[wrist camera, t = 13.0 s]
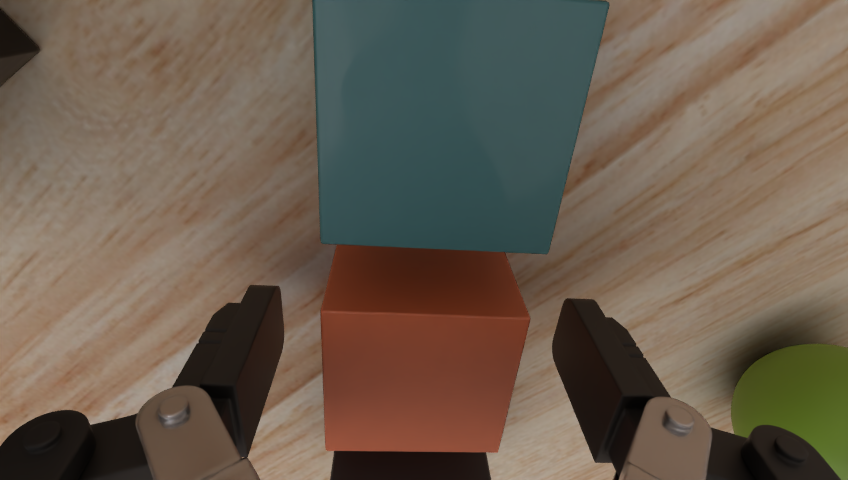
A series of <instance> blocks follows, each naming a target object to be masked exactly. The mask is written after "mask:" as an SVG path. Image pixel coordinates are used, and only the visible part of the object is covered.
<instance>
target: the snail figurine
mask: <svg viewBox="0 0 848 480" xmlns="http://www.w3.org/2000/svg"><path fill="white" fill-rule="evenodd" d="M731 419H732V426H733V430H734V434H735V435H739V436H742V437H746V438H748V436H749V435H750V433H751V432H752V430H753V429H754V428H755V427H757V426H759V425H773V426H777V427H780V428H783V429H786V430H788V431H790V432H792V433H794V434H796V435H798V436H799V437H801V438H802V439H804V440H805V441H807V442H808V443H809V444H810V445H812V446H813V447H814V448H815V449H816V450H817V451H818V452H819V453H820V455H821V456H822V457H823V458H824V459H825V461H826V462H827V463H828V464H829V465H830V467H831V468H832V469H833V470H834V472H835V473H836V474H837V475H838V476H839V478H840V479H841V480H848V348H847V347H843V346H837V345H829V344H801V345H794V346H789V347H785V348H782V349H779V350H776V351H773V352H771V353H769V354H767V355H765V356H763V357H762V358H760V359H759V360H757V361H756V362H755V363H753V364H752V365H751V366H750V367H749V368H748V369H747V370H746V371H745V373H744V374H743V375H742V377H741V378H740V380H739V381H738V383H737V385H736V388H735V391H734V394H733V398H732V404H731Z"/></svg>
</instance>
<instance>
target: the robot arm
mask: <svg viewBox="0 0 848 480" xmlns="http://www.w3.org/2000/svg"><path fill="white" fill-rule="evenodd" d="M283 343H284V323H283V312H282V300H281V291H280V287H279V286H264V285H250V286H249V287H248V289H247V291H246V293H245V295H244V297H243V299H242V301H241V303H227V304H226V305H225V306H224V307H222V308H221V309H220V310H219V311H217V312H216V313H215V314H214V315H213V316H212V318H211V320H210V322H209V323H208V325H207V327H206V329H205V332H203V334H202V336H201V337H200V339H199V343H198V344H196V346H195V348H194V350H193V352H192V353H191V355H190V357H189V359H188V360H187V362H186V364H185V366H184V367H183V369H182V371H181V373H180V374H179V376H178V378H177V380H176V381H175V383H174V385H173V387H172V388H170V389H167V390H164V391H162V392H160V393H158V394H157V395H155V396H153V397H152V398H151V399H149V400H148V401H147V402H146V403H145V404H144V405H143V406H142V408H141V409H140V411H139V412H138V413H137V414H134V415H131V416H128V417H124V418H119V419H115V420H110V421H106V422H102V423H97V424H93V425H90V424H89V421H88V419H87V418H86V416H85V415H83V414H82V413H80V412H78V411H73V410H61V411H55V412H51V413H47V414H44V415H41V416H39V417H36V418H34V419H32V420H30V421H29V422H27V423H25V424H24V425H22V426H21V427H19V428H18V429H16V430H15V431H14V432H13V433H12V434H11V435H10V436H9V437H8V438H7V439H6V440H5V441H4V442H3V444H2V445H1V446H0V480H260V479H259V477H258V475H257V473H256V471H255V469H254V467H253V465H252V464H251V462H250V461H249V459H248V458H247V457H248V454H249V451H250V448H251V445H252V442H253V439H254V436H255V433H256V430H257V427H258V424H259V421H260V417H261V414H262V411H263V408H264V405H265V402H266V399H267V396H268V393H269V390H270V387H271V384H272V381H273V378H274V375H275V371H276V368H277V365H278V362H279V359H280V356H281V353H282V349H283ZM552 353H553V359H554V362H555V365H556V367H557V370H558V372H559V375H560V377H561V380H562V382H563V384H564V387H565V389H566V392H567V394H568V397H569V399H570V402H571V404H572V407H573V409H574V412H575V414H576V417H577V419H578V422H579V424H580V427H581V429H582V432H583V434H584V436H585V439H586V441H587V444H588V446H589V449H590V451H591V454H592V456H593V459H594V461H595V463H613V466H614V468H615V470H616V472H615V474H614V476H613V479H612V480H841V479H840V478H839V476H838V475H837V474H836V473H835V472H834V470H833V469H832V468H831V467H830V465H829V464H828V463H827V462H826V461H825V459H824V458H823V457H822V456H821V455H820V453H819V452H818V451H817V450H816V449H815V448H814V447H813V446H812V445H810V444H809V443H808V442H807V441H805V440H804V439H802V438H801V437H799V436H798V435H796V434H794V433H792V432H790V431H788V430H786V429H783V428H780V427H777V426H773V425H759V426H757V427H755V428H754V429H753V430H752V432H751V433H750V435H749V436H748V438H746V437H742V436H739V435H735V434H731V433H728V432H724V431H721V430H717V429H714V428H711V427H710V426H709V424H708V422H707V421H706V419H705V418H704V417H703V416H702V415H701V414H700V413H699V412H698V411H697V410H695V409H694V408H693V407H691V406H689V405H688V404H686V403H684V402H682V401H679V400H677V399H674V398H671V397H670V395H669V394H668V392H667V391H666V389H665V387H664V386H663V384H662V383H661V381H660V380H659V378H658V377H657V375H656V374H655V372H654V371H653V369H652V368H651V366H650V364H649V363H648V361H647V360H646V358H643V354H642V352H641V351H640V349H639V348H638V347H637V346H636V343H635V341H634V340H633V338H632V337H631V335H630V334H629V332H628V331H627V330H626V329H625V328H624V327H623V326H622V325H620V324H619V323H618V322H617V321H616V320H614V319H613V318H608V317H605V315H604V314H603V312H602V310H601V309H600V307H599V306H598V304H597V302H596V301H595V300H593V299H572V298H567V299H566V300H565V301H564V303H563V306H562V309H561V313H560V316H559V320H558V323H557V327H556V330H555V334H554V338H553V343H552ZM242 457H244V458H242Z"/></svg>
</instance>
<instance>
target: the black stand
mask: <svg viewBox="0 0 848 480" xmlns="http://www.w3.org/2000/svg"><path fill="white" fill-rule="evenodd" d="M38 51H39V48H38V47H37V45H36V44H35V43H34V42H33V41H32V40H31V39H30V38H29V37H28V36H27V35H26V34H25V33H24V32H23V31H22V30H21V29H20V28H19V27H18V26H17V25H16V24H15V23H14V22H13V21H12V20H11V19H10V18H9V17H8V16H7V15H6V14H5V13H4V12H3V11H2V10H1V9H0V86H1V85H2V84H3V83H4V82H5V81H6V80H7V79H8V78H10V77H11V76H12V75H13V74H14V73H15V72H16V71H17V70H18V69H20V68H21V67H22V66H23V65H24V64H25V63H26V62H27V61H29V60H30V59H31V58H32V57H33V56H34V55H35V54H36V53H38Z"/></svg>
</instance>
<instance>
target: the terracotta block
mask: <svg viewBox="0 0 848 480" xmlns="http://www.w3.org/2000/svg"><path fill="white" fill-rule="evenodd" d="M529 323H530V316H529V314H528V311H527V308H526V306H525V303H524V301H523V298H522V296H521V293H520V291H519V288H518V286H517V283H516V280H515V278H514V275H513V273H512V270H511V268H510V265H509V263H508V260H507V258H506V255H505V252H488V251H467V250H445V249H424V248H403V247H381V246H360V245H339V244H337V246H336V250H335V254H334V258H333V262H332V266H331V270H330V274H329V279H328V283H327V287H326V291H325V295H324V299H323V303H322V308H321V339H322V366H323V394H324V421H325V448H326V450H327V451H404V452H498V450H499V445H500V441H501V437H502V433H503V429H504V425H505V421H506V417H507V413H508V409H509V405H510V400H511V396H512V392H513V388H514V384H515V380H516V376H517V372H518V368H519V364H520V359H521V355H522V351H523V347H524V343H525V339H526V335H527V331H528V327H529Z"/></svg>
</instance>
